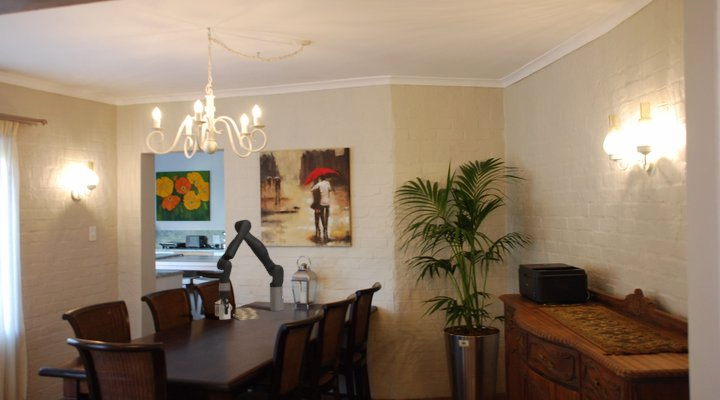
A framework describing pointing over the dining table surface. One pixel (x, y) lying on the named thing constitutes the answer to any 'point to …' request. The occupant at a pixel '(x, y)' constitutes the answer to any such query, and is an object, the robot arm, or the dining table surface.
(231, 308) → the teacup with lid
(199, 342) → the dining table surface
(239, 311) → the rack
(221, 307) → the tile
